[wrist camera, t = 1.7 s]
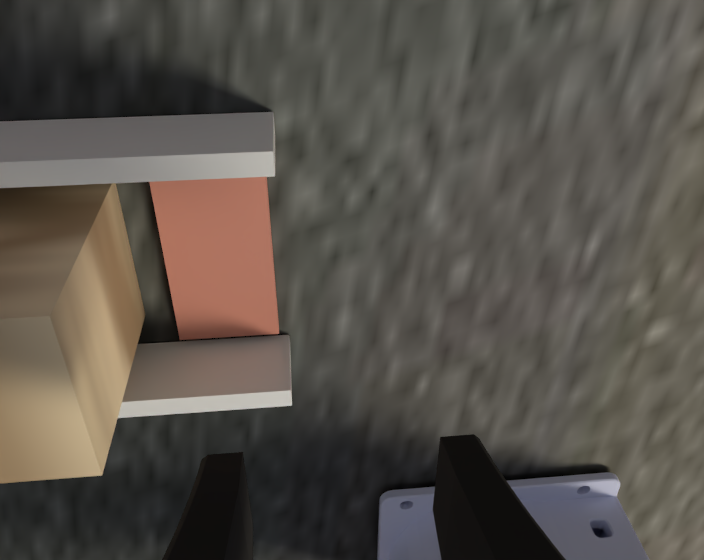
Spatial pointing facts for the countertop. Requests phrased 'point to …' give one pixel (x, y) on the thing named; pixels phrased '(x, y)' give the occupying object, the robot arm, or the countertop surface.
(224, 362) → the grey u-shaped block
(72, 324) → the maple block
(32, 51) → the countertop surface
